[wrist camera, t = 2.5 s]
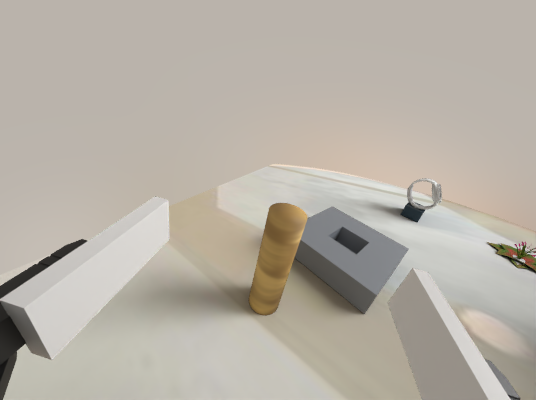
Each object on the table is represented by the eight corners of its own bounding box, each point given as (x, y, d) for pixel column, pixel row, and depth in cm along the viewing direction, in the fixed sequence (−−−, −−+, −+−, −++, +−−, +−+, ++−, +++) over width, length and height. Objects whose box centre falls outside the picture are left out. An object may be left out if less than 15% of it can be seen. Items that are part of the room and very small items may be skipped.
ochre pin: (264, 283, 31) (286, 199, 24) (284, 303, 29) (315, 217, 22) (242, 297, 28) (260, 208, 22) (263, 321, 26) (290, 229, 19)
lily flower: (519, 249, 57) (532, 235, 55) (570, 285, 46) (589, 271, 44) (474, 239, 57) (485, 225, 55) (514, 273, 46) (530, 258, 44)
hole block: (326, 221, 49) (332, 206, 48) (398, 264, 40) (408, 248, 39) (280, 246, 39) (286, 228, 37) (364, 314, 30) (376, 295, 28)
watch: (425, 226, 57) (449, 189, 52) (394, 211, 61) (413, 176, 56) (428, 219, 61) (451, 185, 56) (399, 206, 65) (417, 173, 60)
